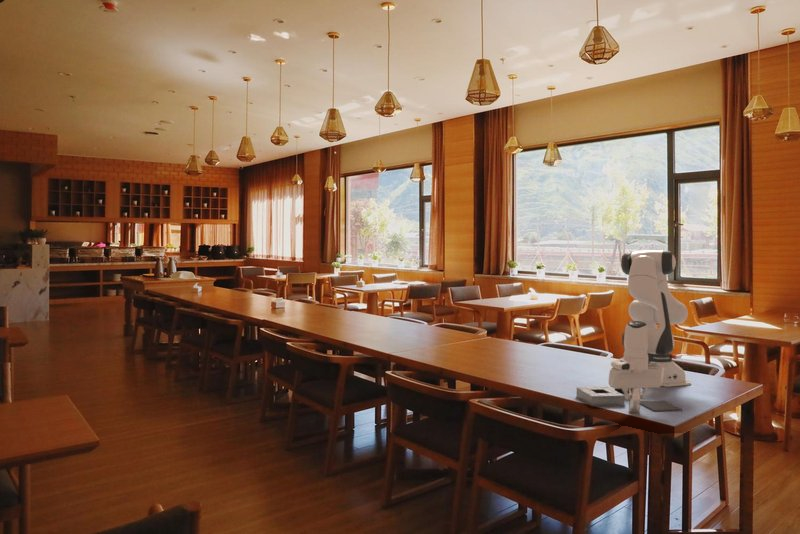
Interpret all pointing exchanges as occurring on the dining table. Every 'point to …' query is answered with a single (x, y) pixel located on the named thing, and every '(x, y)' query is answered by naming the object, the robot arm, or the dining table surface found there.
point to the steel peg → (634, 400)
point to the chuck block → (600, 396)
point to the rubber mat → (659, 406)
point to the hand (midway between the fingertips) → (634, 399)
